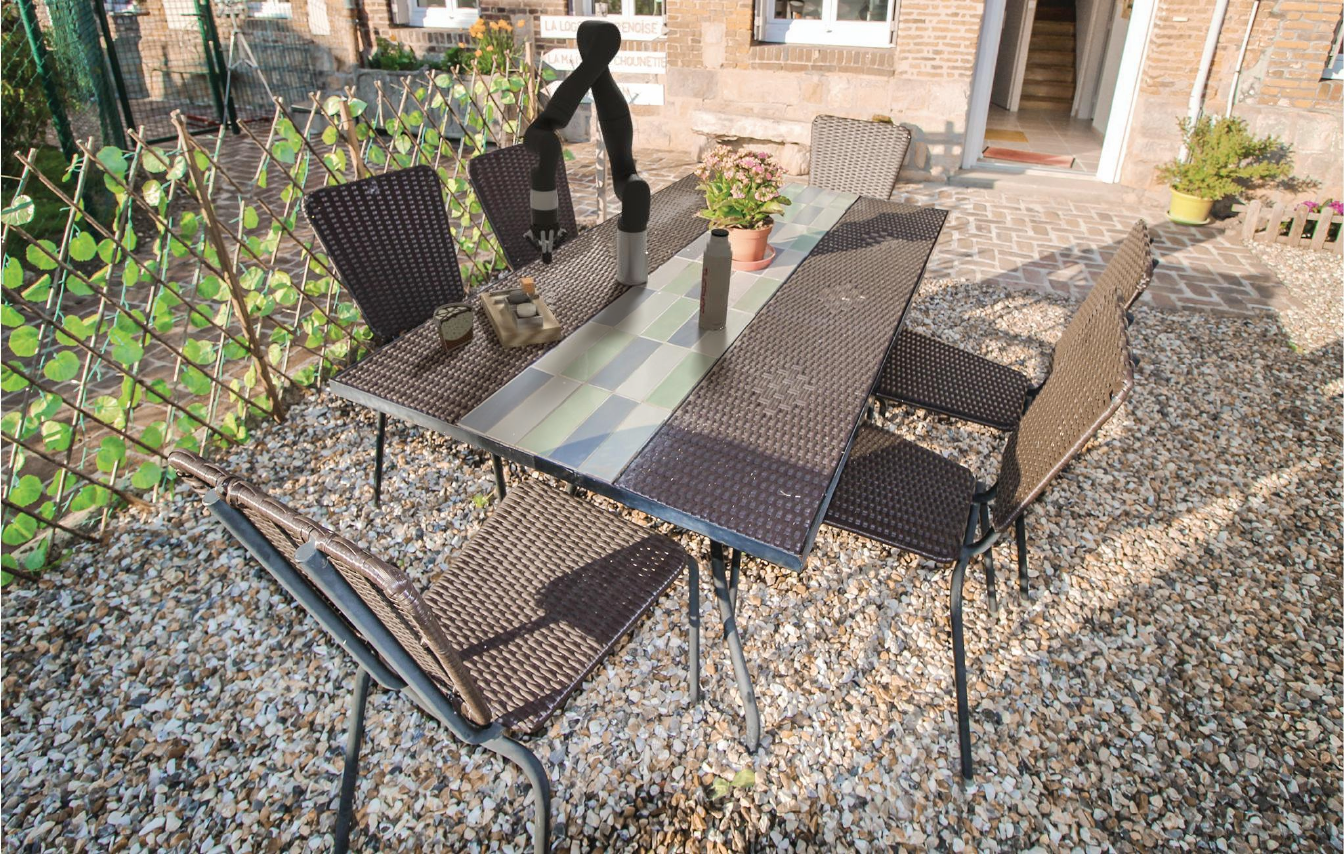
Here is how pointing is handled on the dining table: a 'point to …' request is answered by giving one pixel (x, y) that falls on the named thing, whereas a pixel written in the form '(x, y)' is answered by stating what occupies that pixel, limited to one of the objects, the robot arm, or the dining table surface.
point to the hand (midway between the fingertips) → (546, 263)
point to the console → (519, 319)
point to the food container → (454, 324)
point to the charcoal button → (518, 296)
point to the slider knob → (528, 285)
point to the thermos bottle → (715, 280)
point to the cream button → (526, 310)
